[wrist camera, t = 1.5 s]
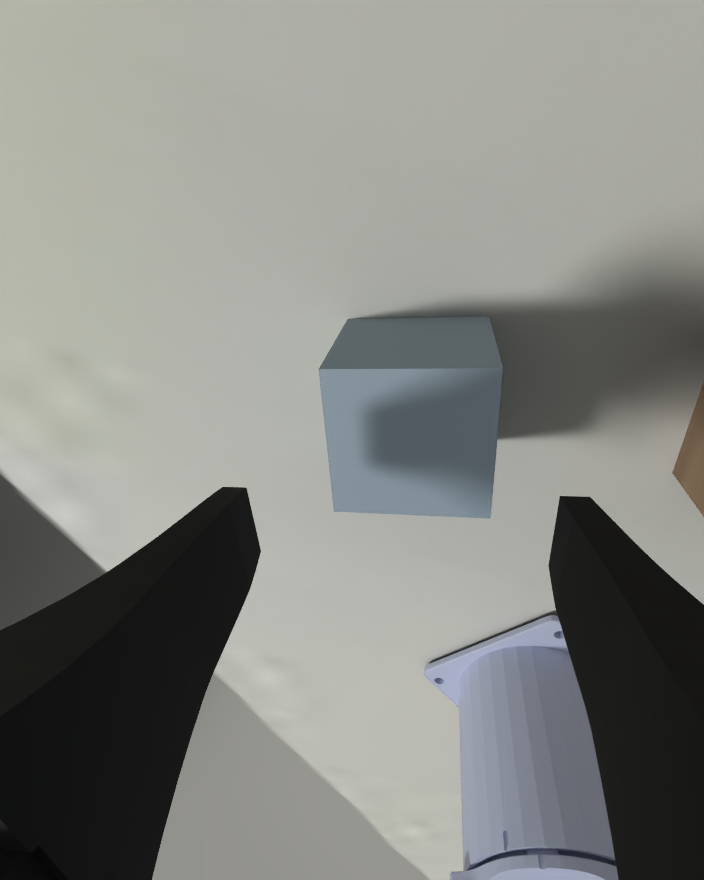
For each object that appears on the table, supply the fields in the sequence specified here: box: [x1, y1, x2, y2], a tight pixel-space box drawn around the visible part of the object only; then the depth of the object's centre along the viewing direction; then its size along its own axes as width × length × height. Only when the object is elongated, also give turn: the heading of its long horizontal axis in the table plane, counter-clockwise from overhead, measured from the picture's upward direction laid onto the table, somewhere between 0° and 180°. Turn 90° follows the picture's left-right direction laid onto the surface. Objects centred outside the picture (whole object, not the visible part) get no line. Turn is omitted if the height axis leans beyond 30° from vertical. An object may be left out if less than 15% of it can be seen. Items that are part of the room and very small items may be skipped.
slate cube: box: [319, 316, 503, 518], centre depth 17 cm, size 5×5×5 cm
